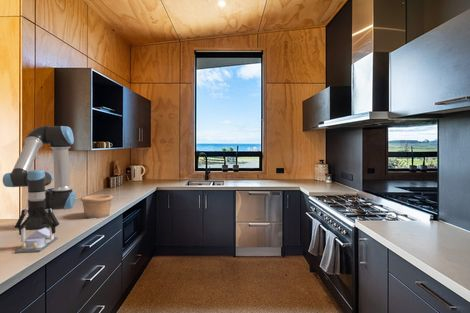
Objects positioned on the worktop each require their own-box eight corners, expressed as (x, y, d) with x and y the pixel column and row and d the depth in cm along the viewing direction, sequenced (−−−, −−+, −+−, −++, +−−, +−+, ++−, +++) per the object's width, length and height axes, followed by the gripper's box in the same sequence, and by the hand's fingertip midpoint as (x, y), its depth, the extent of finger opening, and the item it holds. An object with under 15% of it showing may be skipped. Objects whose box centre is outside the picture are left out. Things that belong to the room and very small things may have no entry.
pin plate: (36, 240, 169) (35, 232, 169) (57, 239, 171) (57, 232, 170) (15, 253, 148) (15, 245, 148) (39, 251, 150) (39, 243, 150)
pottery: (75, 219, 216) (75, 199, 215) (89, 212, 238) (88, 194, 237) (106, 219, 216) (106, 199, 216) (117, 212, 238) (117, 194, 238)
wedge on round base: (37, 239, 166) (20, 247, 153) (37, 227, 166) (20, 234, 153) (54, 239, 166) (38, 247, 153) (53, 227, 166) (38, 234, 153)
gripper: (6, 201, 153) (7, 243, 154) (59, 200, 157) (60, 241, 157) (14, 199, 160) (15, 239, 161) (65, 198, 164) (66, 237, 165)
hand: (37, 240), depth 159 cm, fingers open, 13 cm apart
